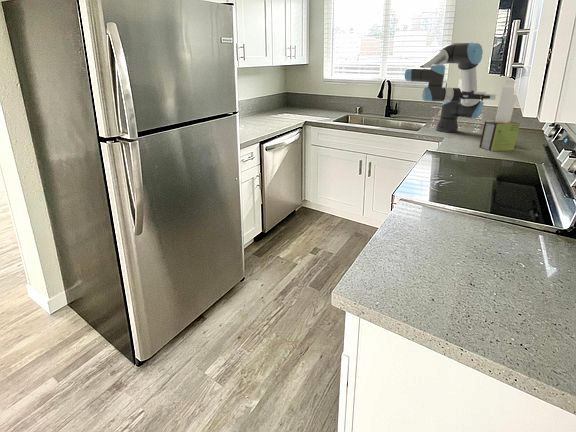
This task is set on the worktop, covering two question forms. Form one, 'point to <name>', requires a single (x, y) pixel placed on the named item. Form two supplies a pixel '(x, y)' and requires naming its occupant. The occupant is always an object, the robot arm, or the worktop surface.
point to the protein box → (499, 136)
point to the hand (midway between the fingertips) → (490, 95)
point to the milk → (506, 103)
